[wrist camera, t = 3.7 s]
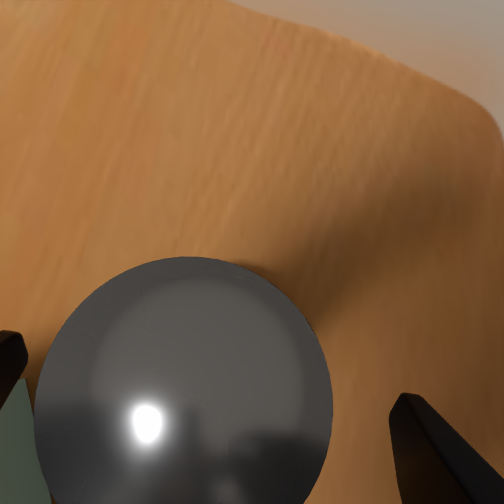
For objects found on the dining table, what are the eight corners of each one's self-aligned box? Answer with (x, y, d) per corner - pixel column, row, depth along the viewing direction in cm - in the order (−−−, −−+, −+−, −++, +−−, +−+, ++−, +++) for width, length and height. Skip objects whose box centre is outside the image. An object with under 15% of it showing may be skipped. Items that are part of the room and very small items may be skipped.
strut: (285, 377, 17) (387, 510, 5) (193, 409, 16) (67, 635, 5) (255, 287, 17) (281, 213, 6) (167, 316, 17) (-3, 302, 5)
